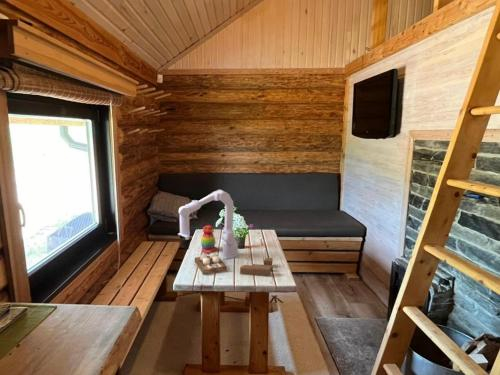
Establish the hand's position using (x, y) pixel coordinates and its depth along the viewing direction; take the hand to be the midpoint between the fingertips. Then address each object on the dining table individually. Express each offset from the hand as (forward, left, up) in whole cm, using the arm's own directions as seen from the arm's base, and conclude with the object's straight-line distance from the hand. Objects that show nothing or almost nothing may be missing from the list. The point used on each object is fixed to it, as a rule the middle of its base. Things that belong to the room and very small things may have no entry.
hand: (185, 247), depth 198 cm
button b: (-9, +13, -7) cm, 18 cm away
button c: (-16, +7, -7) cm, 19 cm away
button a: (-9, +7, -7) cm, 14 cm away
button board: (-12, +11, -10) cm, 19 cm away
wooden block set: (-37, +26, -11) cm, 46 cm away
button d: (-16, +13, -7) cm, 22 cm away
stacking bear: (-19, -15, -10) cm, 26 cm away
